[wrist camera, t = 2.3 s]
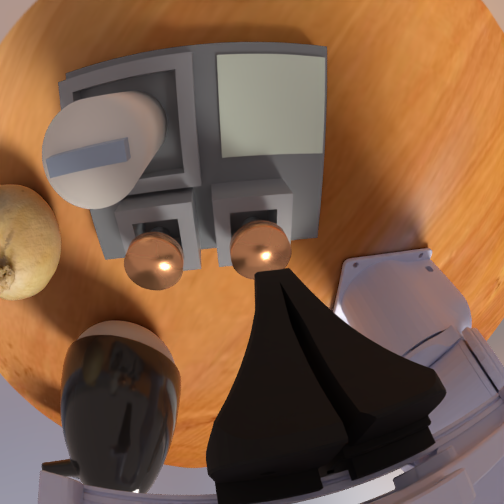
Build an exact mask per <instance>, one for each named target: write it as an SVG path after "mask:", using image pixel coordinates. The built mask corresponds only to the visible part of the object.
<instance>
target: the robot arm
mask: <svg viewBox="0 0 504 504" xmlns="http://www.w3.org/2000/svg"><path fill="white" fill-rule="evenodd" d="M431 255H432V250H431V249H430V248H423V249H416V250H409V251H402V252H394V253H387V254H379V255H372V256H364V257H356V258H349V259H347V260H345V261H344V263H343V267H342V272H341V277H340V282H339V286H338V291H337V296H336V300H335V305H334V309H333V312H332V311H331V310H330V309H329V308H328V307H327V306H326V305H325V304H324V303H323V302H321V301H320V300H319V299H318V298H317V297H316V296H315V295H314V294H313V293H312V292H311V291H310V290H309V289H308V288H307V287H306V286H305V285H304V284H303V283H302V281H301V280H300V279H299V278H298V277H297V276H296V275H295V274H294V273H293V272H292V271H291V270H290V269H289V268H286V269H278V270H269V271H260V272H257V273H256V274H254V280H255V315H254V320H253V325H252V330H251V334H250V338H249V342H248V345H247V349H246V352H245V355H244V358H243V361H242V364H241V367H240V369H239V372H238V374H237V377H236V379H235V381H234V384H233V386H232V388H231V390H230V393H229V395H228V397H227V399H226V401H225V403H224V405H223V406H222V408H221V410H220V412H219V414H218V416H217V417H216V419H215V421H214V424H213V428H212V431H211V435H210V438H209V442H208V446H207V451H206V463H207V470H208V475H209V476H210V477H211V478H212V479H213V480H214V481H215V486H216V493H217V494H213V495H162V494H147V493H136V492H127V491H119V490H112V489H106V488H100V487H94V486H89V485H84V484H82V483H81V482H79V481H76V480H74V479H71V478H68V477H65V476H61V475H58V474H54V473H50V472H47V471H44V470H42V471H40V479H39V492H38V504H292V503H297V502H301V501H306V500H310V499H314V498H317V497H321V496H325V495H329V494H332V493H336V492H339V491H342V490H345V489H348V488H351V487H354V486H357V485H360V484H363V483H365V482H368V481H371V480H374V479H376V478H379V477H381V476H384V475H386V474H388V473H390V472H393V471H395V470H397V469H400V468H401V469H402V470H403V471H404V472H405V473H403V474H401V475H399V476H397V477H395V478H394V479H393V482H394V485H395V490H392V491H390V492H388V493H386V494H383V495H381V496H378V497H376V498H373V499H371V500H368V501H365V502H363V503H360V504H504V367H503V365H502V363H501V362H500V361H499V359H498V357H497V356H496V354H495V353H494V352H493V350H492V349H491V347H490V346H489V344H488V343H487V341H486V340H485V339H484V337H483V336H482V335H481V333H480V332H479V331H478V329H477V328H471V325H472V319H471V313H470V309H469V306H468V303H467V301H466V300H465V298H464V297H463V295H462V294H461V293H460V292H459V290H458V289H457V288H456V287H455V286H454V285H453V284H452V282H451V281H450V280H449V279H448V278H447V277H446V276H445V275H444V274H443V272H442V271H441V270H440V269H439V268H438V267H437V266H436V265H435V264H434V263H433V262H432V261H431V260H430V258H431ZM354 263H356V264H355V265H353V264H354Z"/></svg>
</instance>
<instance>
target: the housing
mask: <svg viewBox="0 0 504 504" xmlns="http://www.w3.org/2000/svg"><path fill="white" fill-rule="evenodd" d="M58 85H59V96H60V104H61V110H62V109H63V108H65V107H66V106H67V105H69V104H71V103H73V102H75V101H78V100H80V99H85V98H89V97H95V96H100V95H106V94H112V93H119V92H126V91H142V92H145V93H148V94H150V95H152V96H153V97H155V98H156V99H157V100H158V101H159V102H160V103H161V105H162V106H163V108H164V110H165V113H166V116H167V122H168V127H167V133H166V137H165V140H164V142H163V144H162V145H161V147H160V148H159V150H158V151H157V152H156V154H155V155H154V157H153V158H152V160H151V161H150V163H149V164H148V166H147V167H146V169H145V170H144V172H143V173H142V175H141V177H140V178H139V180H138V181H137V183H136V185H135V186H134V188H133V189H132V190H131V191H130V193H129V194H128V195H127V196H126V197H125V198H123V199H122V200H120V201H119V202H117V203H115V204H114V205H111V206H109V207H105V208H101V209H90V212H91V216H92V219H93V223H94V226H95V229H96V232H97V236H98V239H99V242H100V245H101V248H102V251H103V254H104V257H105V260H107V259H116V258H125V255H126V253H127V250H128V247H129V245H130V243H131V241H132V240H133V239H134V238H135V237H137V236H138V235H140V234H142V233H145V232H150V231H151V230H152V229H153V228H154V227H157V226H162V227H165V228H167V229H168V230H169V231H170V233H171V237H172V238H173V239H175V240H176V241H177V242H178V243H179V245H180V246H181V248H182V250H183V254H184V263H183V271H185V270H195V269H201V249H209V248H217V253H218V262H219V267H223V266H233V265H232V262H231V256H230V249H229V246H230V241H231V238H232V236H233V235H234V233H235V232H236V231H237V230H238V229H239V228H240V227H241V225H242V222H243V221H244V220H245V219H246V218H248V217H251V216H255V217H258V218H260V219H261V220H266V221H271V222H273V223H275V224H277V225H278V226H280V227H281V228H282V229H283V231H284V232H285V234H286V236H287V238H288V240H289V242H290V245H291V240H297V239H308V238H317V236H318V226H319V216H320V205H321V194H322V181H323V167H324V151H325V132H326V104H327V47H326V46H317V45H308V44H296V43H278V42H228V43H210V44H199V45H189V46H180V47H173V48H166V49H160V50H154V51H148V52H143V53H138V54H133V55H129V56H124V57H120V58H116V59H112V60H108V61H104V62H101V63H97V64H94V65H90V66H87V67H84V68H81V69H77V70H74V71H72V72H69V73H66V80H64V81H61V82H58Z"/></svg>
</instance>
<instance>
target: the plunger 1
mask: <svg viewBox="0 0 504 504" xmlns="http://www.w3.org/2000/svg"><path fill="white" fill-rule="evenodd" d="M183 263H184V254H183V250H182V248H181V246H180V245H179V243H178V242H177V241H176V240H175V239H173V238H172V237H171V233H170V231H169V230H168V229H167V228H165V227H162V226H157V227H154V228H153V229H152V230H151V231H150V232H145V233H142V234H140V235H138V236H137V237H135V238H134V239H133V240H132V241H131V243H130V245H129V247H128V250H127V253H126V255H125V259H124V267H125V271H126V273H127V275H128V276H129V278H130V279H131V280H132V281H133V282H134V283H136V284H137V285H139V286H141V287H143V288H146V289H150V290H163V289H167V288H170V287H171V286H173V285H175V284H176V283H177V282H178V281H179V279H180V278H181V276H182V273H183Z"/></svg>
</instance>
